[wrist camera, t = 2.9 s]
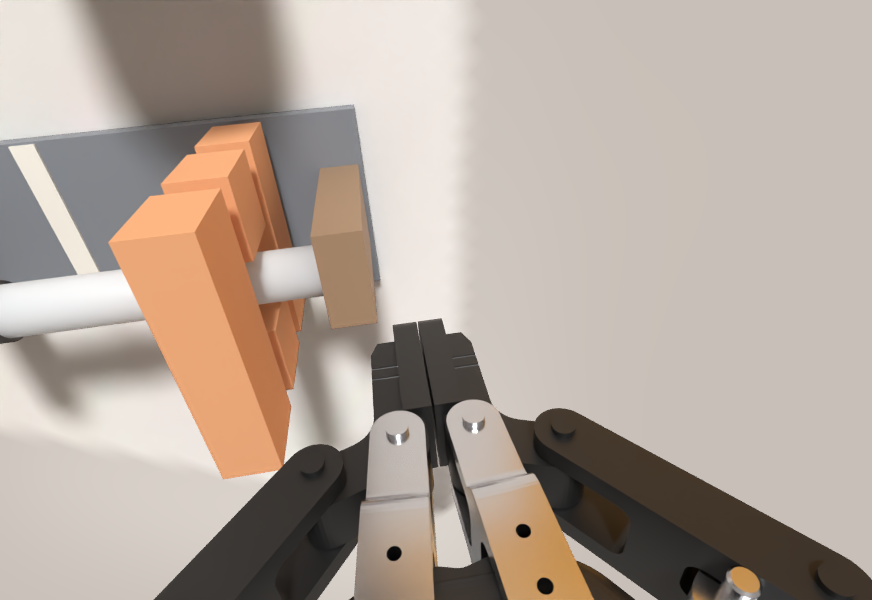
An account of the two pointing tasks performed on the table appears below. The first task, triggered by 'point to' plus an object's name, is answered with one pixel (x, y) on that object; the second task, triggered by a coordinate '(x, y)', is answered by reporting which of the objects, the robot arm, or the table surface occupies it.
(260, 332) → the collar
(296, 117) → the pipe stand
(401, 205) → the table surface
